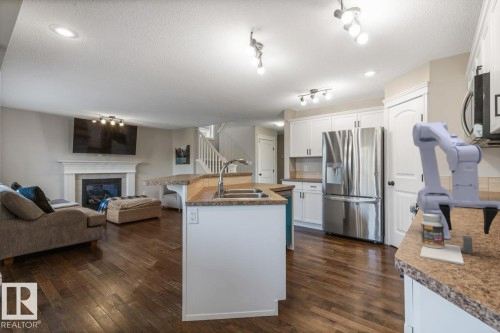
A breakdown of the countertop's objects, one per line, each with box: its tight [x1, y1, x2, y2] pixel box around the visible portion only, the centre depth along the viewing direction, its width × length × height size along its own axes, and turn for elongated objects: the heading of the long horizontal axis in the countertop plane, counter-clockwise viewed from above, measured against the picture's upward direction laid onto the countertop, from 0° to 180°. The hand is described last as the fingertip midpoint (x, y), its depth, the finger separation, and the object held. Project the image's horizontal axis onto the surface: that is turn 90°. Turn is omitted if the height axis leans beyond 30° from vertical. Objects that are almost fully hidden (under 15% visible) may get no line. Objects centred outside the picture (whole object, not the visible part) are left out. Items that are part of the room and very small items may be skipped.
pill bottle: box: [420, 213, 446, 248], centre depth 71 cm, size 6×6×10 cm
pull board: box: [419, 235, 474, 266], centre depth 66 cm, size 18×12×4 cm, turn 139°
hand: (467, 231), depth 66 cm, fingers open, 7 cm apart
